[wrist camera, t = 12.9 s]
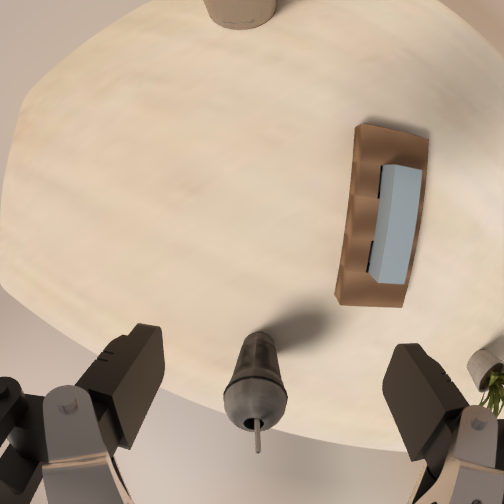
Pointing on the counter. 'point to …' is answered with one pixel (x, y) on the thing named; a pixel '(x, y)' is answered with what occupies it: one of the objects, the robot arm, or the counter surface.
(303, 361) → the counter surface
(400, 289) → the brown wooden slab
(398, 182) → the grey bridge block
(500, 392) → the house plant
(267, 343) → the beverage cup
